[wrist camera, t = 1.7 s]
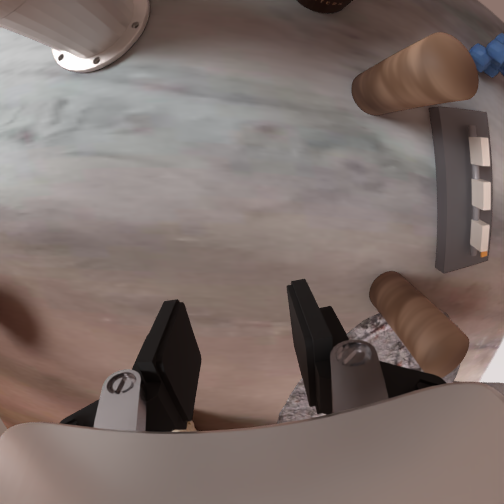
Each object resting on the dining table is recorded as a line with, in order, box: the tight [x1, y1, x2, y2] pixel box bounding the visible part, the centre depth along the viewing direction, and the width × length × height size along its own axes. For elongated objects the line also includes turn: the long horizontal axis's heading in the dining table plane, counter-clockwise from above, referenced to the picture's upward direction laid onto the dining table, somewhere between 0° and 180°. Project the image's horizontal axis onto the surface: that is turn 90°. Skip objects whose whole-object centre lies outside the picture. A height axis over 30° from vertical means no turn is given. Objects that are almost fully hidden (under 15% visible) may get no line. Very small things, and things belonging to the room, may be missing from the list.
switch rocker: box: [468, 125, 491, 256], centre depth 25 cm, size 16×1×3 cm, turn 9°
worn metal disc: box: [277, 309, 460, 424], centre depth 40 cm, size 33×35×1 cm
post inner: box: [352, 32, 479, 116], centre depth 19 cm, size 5×5×14 cm
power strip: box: [429, 107, 492, 273], centre depth 28 cm, size 20×9×2 cm, turn 10°
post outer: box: [369, 271, 469, 378], centre depth 26 cm, size 5×5×14 cm
